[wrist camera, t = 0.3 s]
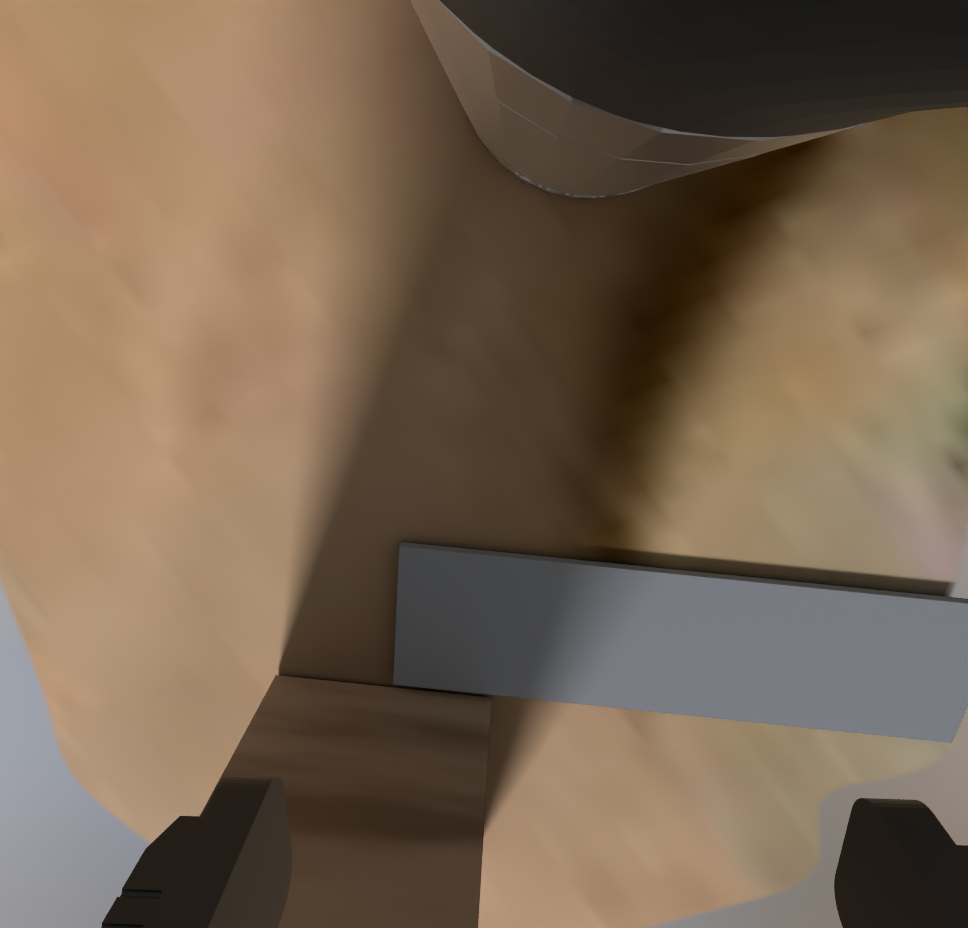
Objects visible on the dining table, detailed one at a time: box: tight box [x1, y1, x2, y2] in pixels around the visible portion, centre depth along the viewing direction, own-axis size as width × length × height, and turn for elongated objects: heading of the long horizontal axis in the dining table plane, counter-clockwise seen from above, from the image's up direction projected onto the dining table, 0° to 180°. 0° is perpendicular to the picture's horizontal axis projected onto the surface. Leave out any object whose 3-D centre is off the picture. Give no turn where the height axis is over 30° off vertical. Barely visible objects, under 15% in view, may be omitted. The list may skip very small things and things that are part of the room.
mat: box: [393, 542, 968, 743], centre depth 28 cm, size 7×25×1 cm, turn 85°
